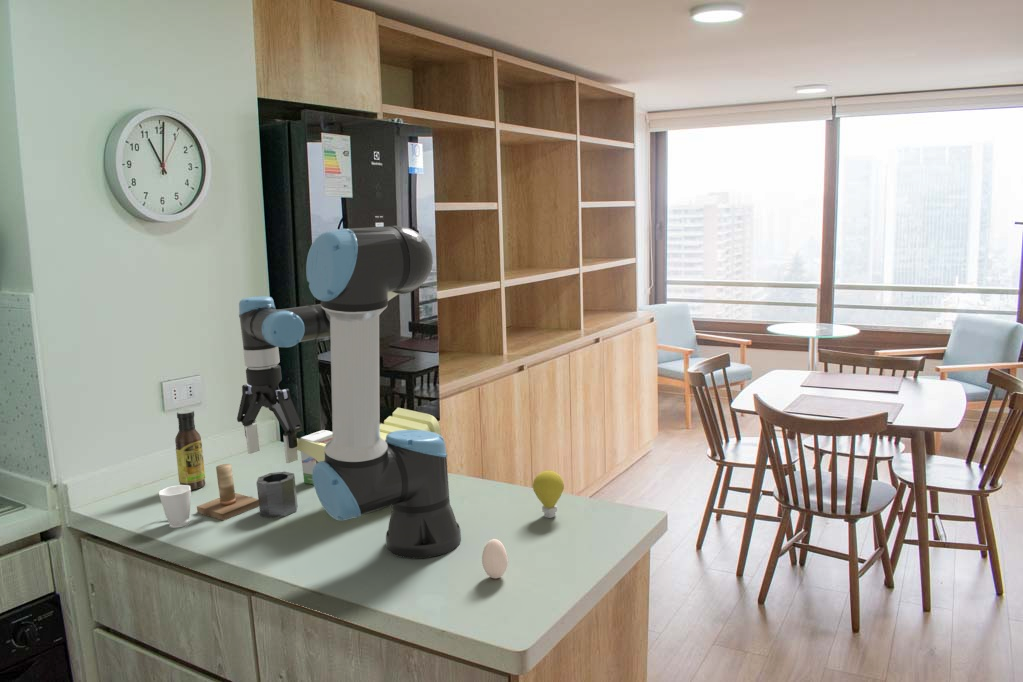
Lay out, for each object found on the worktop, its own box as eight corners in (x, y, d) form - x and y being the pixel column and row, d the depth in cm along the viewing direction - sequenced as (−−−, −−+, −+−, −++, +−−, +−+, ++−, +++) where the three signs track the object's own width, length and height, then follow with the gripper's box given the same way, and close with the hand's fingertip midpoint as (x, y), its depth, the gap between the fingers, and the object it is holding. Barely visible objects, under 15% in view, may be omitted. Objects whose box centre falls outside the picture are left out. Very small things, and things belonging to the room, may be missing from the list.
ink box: (316, 485, 200) (312, 440, 198) (303, 482, 203) (298, 438, 201) (341, 475, 207) (337, 431, 205) (327, 472, 210) (323, 429, 208)
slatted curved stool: (341, 528, 173) (333, 449, 169) (301, 511, 183) (293, 437, 180) (445, 487, 194) (439, 416, 191) (403, 474, 205) (397, 407, 202)
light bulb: (571, 514, 173) (569, 470, 171) (551, 524, 168) (549, 478, 167) (548, 507, 178) (545, 464, 176) (528, 517, 173) (525, 472, 171)
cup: (170, 532, 175) (166, 497, 174) (151, 522, 182) (146, 488, 181) (201, 522, 180) (197, 488, 179) (181, 512, 187) (177, 479, 186)
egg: (478, 580, 145) (475, 542, 144) (492, 569, 149) (489, 532, 148) (499, 585, 143) (497, 546, 141) (513, 574, 147) (511, 536, 145)
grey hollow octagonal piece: (304, 508, 185) (300, 475, 184) (276, 520, 179) (272, 486, 178) (282, 502, 190) (278, 470, 189) (253, 513, 184) (249, 480, 182)
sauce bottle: (190, 493, 200) (180, 416, 197) (175, 489, 203) (164, 413, 200) (212, 484, 205) (202, 409, 202) (196, 481, 209) (186, 407, 205)
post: (260, 505, 189) (255, 463, 187) (223, 520, 181) (217, 476, 179) (234, 498, 194) (229, 457, 193) (197, 512, 186) (191, 469, 185)
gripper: (313, 367, 174) (322, 460, 178) (242, 358, 189) (252, 444, 193) (285, 374, 168) (295, 470, 172) (214, 364, 183) (225, 453, 187)
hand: (272, 456), depth 183 cm, fingers open, 13 cm apart
